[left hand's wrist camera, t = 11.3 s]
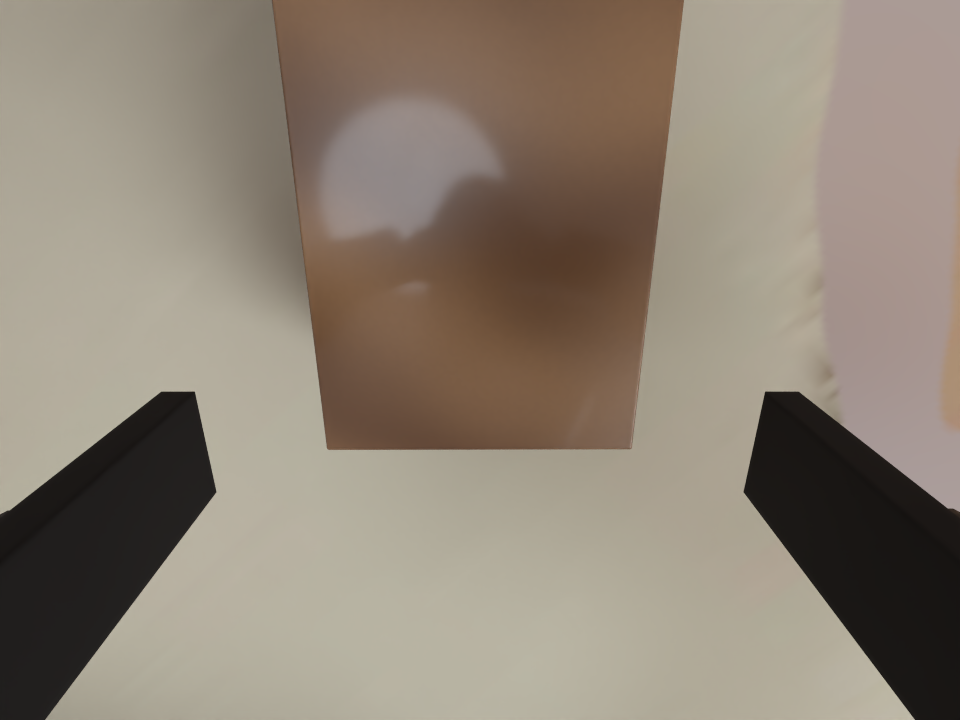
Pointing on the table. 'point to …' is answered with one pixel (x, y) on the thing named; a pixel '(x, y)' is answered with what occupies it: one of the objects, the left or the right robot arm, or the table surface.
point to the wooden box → (478, 213)
